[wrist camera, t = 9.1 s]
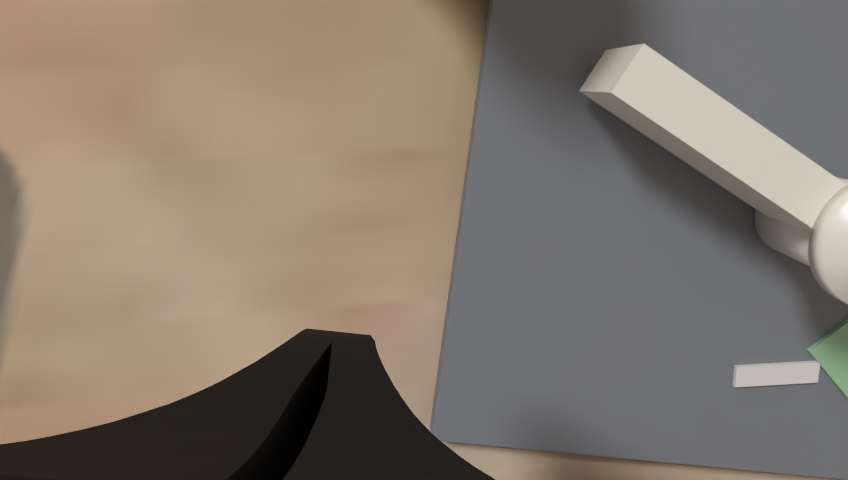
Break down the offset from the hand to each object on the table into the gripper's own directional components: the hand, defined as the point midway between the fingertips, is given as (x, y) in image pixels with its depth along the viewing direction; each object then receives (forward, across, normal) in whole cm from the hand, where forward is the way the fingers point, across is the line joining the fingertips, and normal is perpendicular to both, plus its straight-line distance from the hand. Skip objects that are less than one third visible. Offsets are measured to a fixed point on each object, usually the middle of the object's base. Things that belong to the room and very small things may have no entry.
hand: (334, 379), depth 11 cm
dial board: (+10, -14, -2) cm, 17 cm away
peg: (+9, -13, -3) cm, 16 cm away
